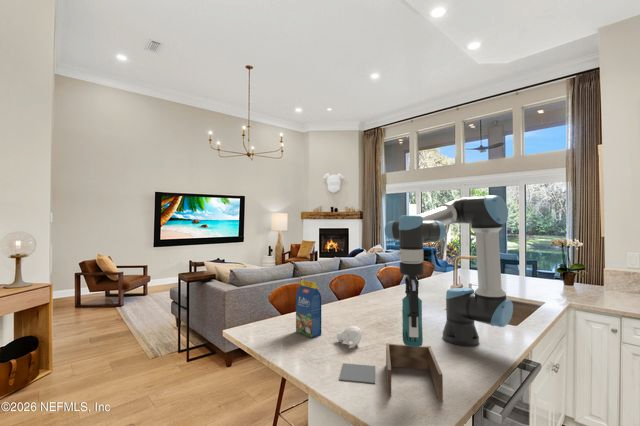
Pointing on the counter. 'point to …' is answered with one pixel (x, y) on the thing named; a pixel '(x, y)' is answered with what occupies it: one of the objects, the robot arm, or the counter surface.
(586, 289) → the counter surface
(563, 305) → the counter surface
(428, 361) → the wooden u-frame
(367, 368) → the mat
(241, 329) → the counter surface
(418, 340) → the beverage bottle
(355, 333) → the white crumpled lump
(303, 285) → the blue food package
